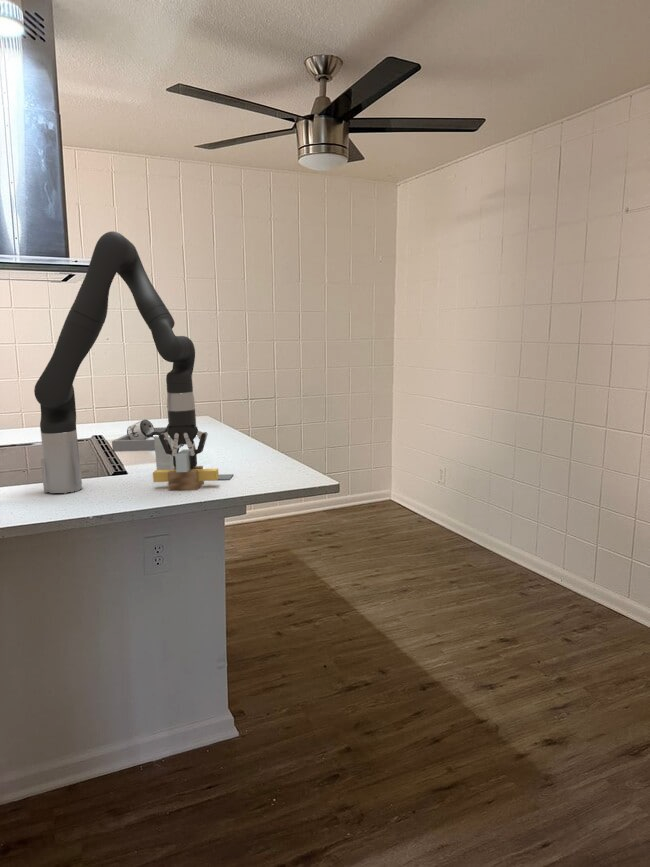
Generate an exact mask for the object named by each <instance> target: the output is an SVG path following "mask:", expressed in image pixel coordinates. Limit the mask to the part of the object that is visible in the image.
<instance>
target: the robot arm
mask: <svg viewBox="0 0 650 867" xmlns="http://www.w3.org/2000/svg"><path fill="white" fill-rule="evenodd" d="M116 274H117V275H119V277H120V279H122V280H123V281H124V283H125V284H126V286H127V287H128V289H129V291H130V292H131V294H132V297H133V299H134V303H135V306H136V308H137V310H138V312H139V313H140V315H141V317H142V319H143V320H144V322H145V324H146V325H147V327H148V329H149V330H150V332H151V336H152V339H153V342H154V345H155V348H156V351H157V352H158V355H160V357H161V358H162V359H164V361H165V362H169V363H172V369H171V370H170V371H169V372H168V373H167V374H166V378H165V379H166V380H165V381H166V393H167V394H166V409H167V422H168V423H167V424H169V429H168V431H167V432H166V433H162V434H160V435H159V439H160V441H161V443H162V446H163V448H164V450H165V453H166V454H170V455H172V456H173V465H174V467H176V458H175V455H176V454H177V453H178V452H180V448H181V447H180V444H185V445H186V446H187V449H189V451H190V454H191V456H190V461H191V469H194V468H195V466H198V458H197V457H198V454H202V453H203V451H204V448H205V444H206V441H207V437H208V432H206V431H204V432H203V431H200V430H199V429H198V426H197V418H196V417H197V416H196V405H195V404H196V403H195V402H196V401H195V395H194V391H193V388H194V387H193V372H194V367H195V362H196V361H195V360H196V349H195V348H196V347H195V345H194V342H193V340H192V339H191V338H190V337H188V336H185V335H178V336H177V335H176V334H175V333H174V330H173V329H174V327H175V325H176V324H175V320H174V317H173V316H172V314H171V312H170V311H169V309H168V308H167V306H166V304H165V303H164V301H163V300H162V298H161V296H160V295H159V293H158V292H157V290H156V289H155V287H154V286H153V284H152V282H151V280H150V278H149V276H148V274H147V272H146V270H145V268H144V266H143V262H142V260H141V257H140V255H139V252H138V251H137V248H136V246H135V245H134V244H133V243H132V242H131V241H130V240H129V239H128V238H127V237H125V236H124V235H123V234H122V233H119V232H117V231H113V230H112V231H108V232H105V233H104V234H102V235H101V236H100V237H99V239H98V240H97V242H96V244H95V246H94V249H93V252H92V255H91V259H90V262H89V265H88V268H87V271H86V274H85V276H84V279H83V281H82V282H81V285H80V288H79V290H78V292H77V294H76V296H75V298H74V301H73V303H72V305H71V307H70V310H69V312H68V314H67V315H66V318H65V321H64V323H63V325H62V328H61V331H60V333H59V335H58V339H57V340H56V341H57V342H56V345H55V348H54V351H53V353H52V355H51V358H50V359H49V361H48V362H47V364H46V366H45V368H44V370H43V372H42V373H41V374H40V377H39V378H38V379H37V381H36V382H35V385H34V390H33V392H34V396H35V400H36V402H38V404H39V405H40V407H39V408H40V421H39V422H40V423H39V428H40V439H41V444H42V445H41V446H42V456H43V458H42V459H40V466H41V476H42V484H43V493H44V492H50V493H64V494H68V493H67V492H71V493H75V492H78V491H80V489H81V490H82V489H83V481H82V471H81V462H80V453H79V452H80V451H79V442H78V433H77V409H76V397H75V389H74V382H75V378H76V375H77V373H78V370H79V368H80V366H81V364H82V362H83V361H84V360H85V358H86V357H87V355H88V354H89V352H90V351H91V349H92V348H93V346H94V344H96V343H95V342H96V341H97V339H98V337H99V335H100V334H101V331H102V328H103V326H104V324H105V321H106V318H107V315H108V307H109V296H110V290H111V287H112V286H111V285H112V283H113V281H114V279H115V276H116ZM196 435H198V436H197V438H198V440H199V442H198V445H197V447H196V444H195V439H196ZM168 436H170V437H171V439H172V440H173V441H174V442H173V450H172V449H171V446H170V444H169V442H168V439H169V437H168ZM179 447H180V448H179ZM74 491H75V492H74ZM50 493H49V494H50Z"/></svg>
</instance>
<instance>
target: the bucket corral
mask: <svg viewBox="0 0 650 867" xmlns="http://www.w3.org/2000/svg"><path fill="white" fill-rule="evenodd" d="M166 427H167V426H165V427H154V431H155V432H162V431H164V430H165V429H166ZM155 435H157V434H155ZM182 445H183V446H184V444H180V447H179V449H180V448H181V446H182ZM111 446H112V451H113V450H114V451H113V452H143V451H145V452H146V451H155V443H154V438H153V439H146V440H130V439H129V435H127V434H124V435H122V436H120V437H118V438H115V439H113V440H112V441H111ZM183 446H182V447H183Z"/></svg>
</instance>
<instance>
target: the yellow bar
mask: <svg viewBox="0 0 650 867" xmlns="http://www.w3.org/2000/svg"><path fill="white" fill-rule="evenodd" d="M190 470H198V480H199V481H204V482H210V481H211V482H215V481H219V480H218V478H219V475H220V474H219V468H203V469H190ZM169 471H176V470H157V469H156V470H154V471H153V472H152V479H153V483H163V482H164V483H166V482H168V472H169Z"/></svg>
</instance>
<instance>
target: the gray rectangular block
mask: <svg viewBox="0 0 650 867" xmlns="http://www.w3.org/2000/svg"><path fill="white" fill-rule="evenodd" d="M190 456H191V454H190V451H189V448H186V449H185V448H182V449H181V450H179V452H178V453H177V454H176V455H175V458H176V472H188V471H189V470H190V469H191V461H190Z"/></svg>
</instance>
